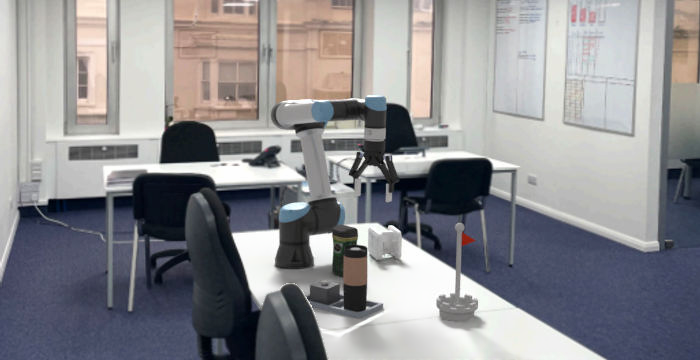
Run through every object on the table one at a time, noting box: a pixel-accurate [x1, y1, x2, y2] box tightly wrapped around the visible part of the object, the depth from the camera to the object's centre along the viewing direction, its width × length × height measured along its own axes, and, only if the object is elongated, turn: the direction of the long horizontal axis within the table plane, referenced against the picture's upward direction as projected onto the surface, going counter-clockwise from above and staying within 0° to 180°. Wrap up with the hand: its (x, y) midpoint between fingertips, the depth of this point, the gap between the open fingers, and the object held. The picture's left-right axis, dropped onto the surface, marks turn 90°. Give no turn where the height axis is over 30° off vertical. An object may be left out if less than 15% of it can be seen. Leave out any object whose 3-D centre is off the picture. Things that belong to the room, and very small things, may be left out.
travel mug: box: [342, 244, 368, 312], centre depth 258 cm, size 8×8×20 cm
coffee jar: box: [331, 224, 359, 278], centre depth 300 cm, size 10×8×19 cm
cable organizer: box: [367, 225, 403, 261], centre depth 326 cm, size 15×11×12 cm
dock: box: [305, 293, 384, 320], centre depth 263 cm, size 25×13×2 cm, turn 55°
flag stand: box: [436, 222, 479, 322], centre depth 255 cm, size 13×13×30 cm
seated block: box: [309, 279, 341, 305], centre depth 265 cm, size 7×7×7 cm
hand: (372, 198), depth 290 cm, fingers open, 13 cm apart
